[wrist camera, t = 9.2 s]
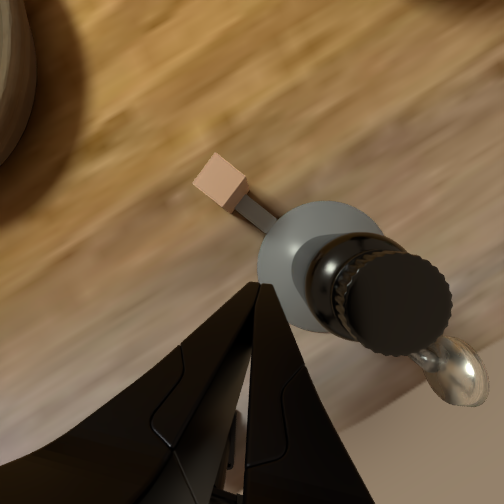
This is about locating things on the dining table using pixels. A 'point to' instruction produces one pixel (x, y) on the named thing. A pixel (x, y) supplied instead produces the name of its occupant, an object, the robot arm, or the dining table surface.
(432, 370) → the door knob
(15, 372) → the dining table surface
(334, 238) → the supplement bottle
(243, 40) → the dining table surface
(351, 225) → the frying pan
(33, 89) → the plant saucer
